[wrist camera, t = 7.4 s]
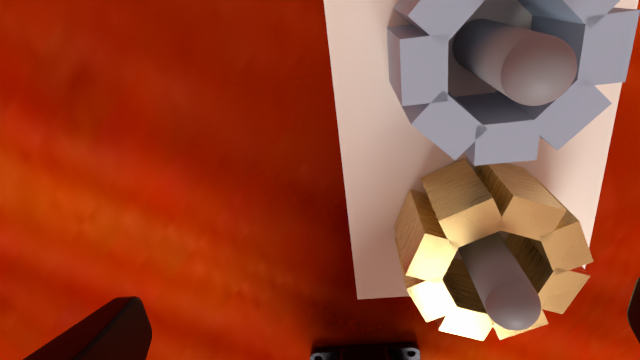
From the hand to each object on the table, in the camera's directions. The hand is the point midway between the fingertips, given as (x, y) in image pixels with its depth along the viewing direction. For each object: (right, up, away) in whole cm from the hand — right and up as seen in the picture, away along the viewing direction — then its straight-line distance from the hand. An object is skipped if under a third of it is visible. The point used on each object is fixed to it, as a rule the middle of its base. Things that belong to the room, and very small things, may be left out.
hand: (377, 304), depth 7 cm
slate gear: (+5, +7, +8) cm, 12 cm away
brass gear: (+6, 0, +11) cm, 12 cm away
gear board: (+5, +4, +11) cm, 13 cm away
